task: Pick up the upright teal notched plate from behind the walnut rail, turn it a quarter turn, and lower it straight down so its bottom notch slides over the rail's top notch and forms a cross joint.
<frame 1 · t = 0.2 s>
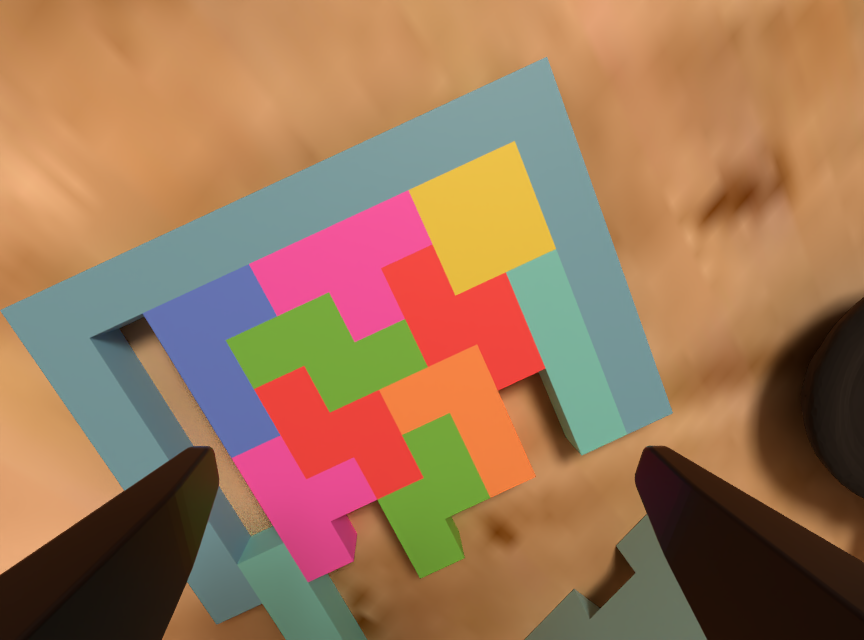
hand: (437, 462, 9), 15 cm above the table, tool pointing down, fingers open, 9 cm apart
tetris game: (401, 412, 26), on the table
teal plate: (610, 579, 28), on the table
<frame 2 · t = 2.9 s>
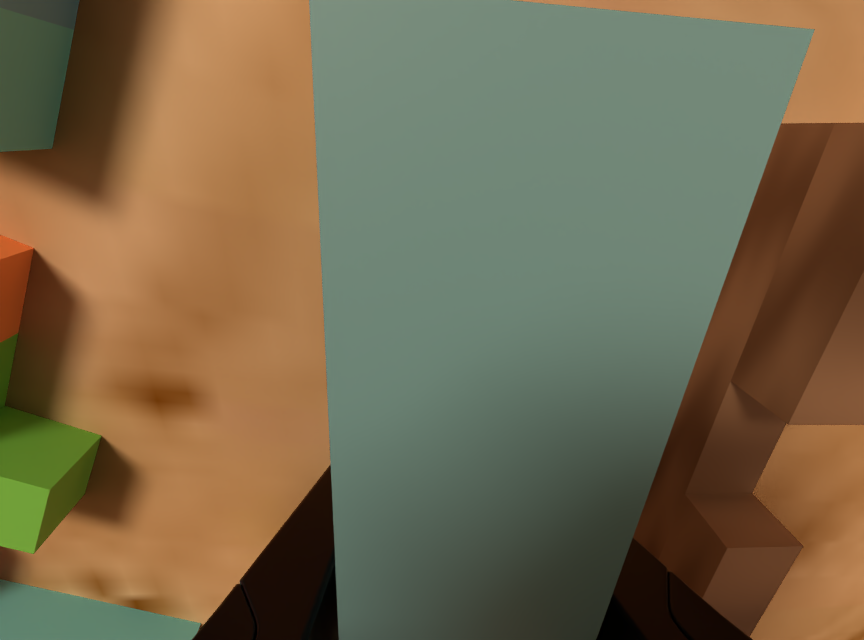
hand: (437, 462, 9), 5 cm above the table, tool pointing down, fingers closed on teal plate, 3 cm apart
teal plate: (423, 348, 13), on the table, touching gripper
walnut rail: (692, 426, 16), on the table
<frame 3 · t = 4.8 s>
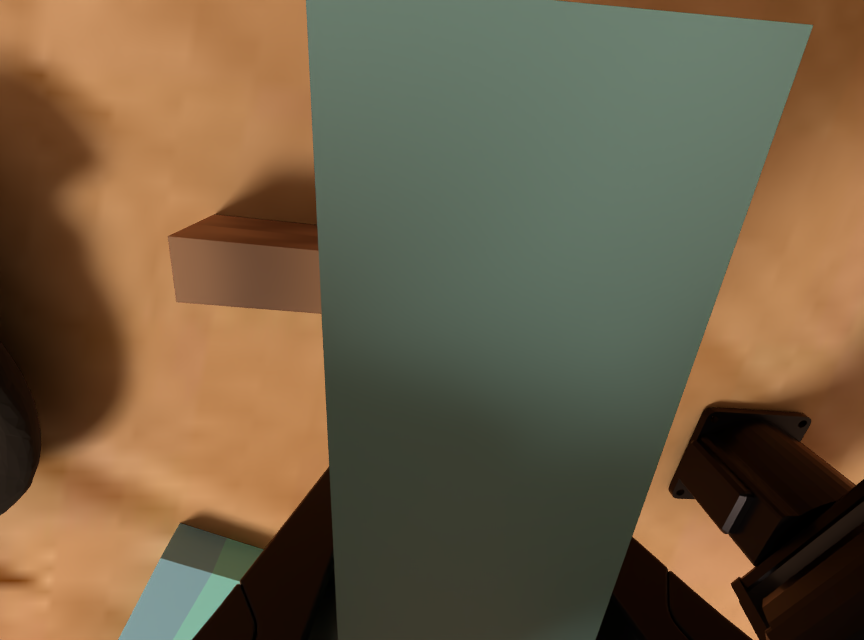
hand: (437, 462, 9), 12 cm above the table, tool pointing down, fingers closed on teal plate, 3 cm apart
tetris game: (352, 625, 31), on the table
teal plate: (423, 347, 13), point 7 cm above the table, touching gripper
walnut rail: (444, 264, 20), on the table
when the fingers open (6 cm above the table, at t = 6.9 s): teal plate stays where it is, on the table.
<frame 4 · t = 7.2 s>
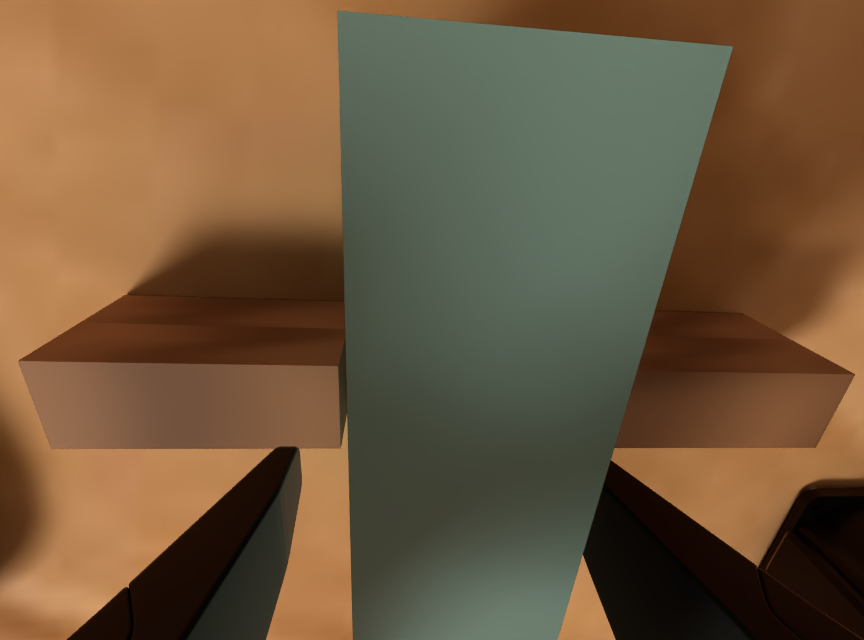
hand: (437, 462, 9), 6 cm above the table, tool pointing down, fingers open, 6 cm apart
teal plate: (423, 336, 14), on the table
walnut rail: (451, 338, 14), on the table
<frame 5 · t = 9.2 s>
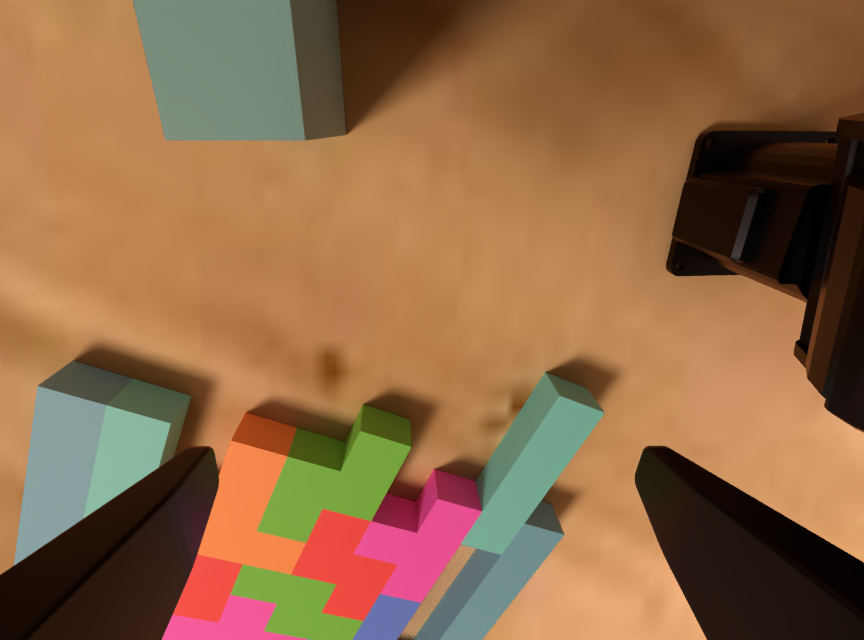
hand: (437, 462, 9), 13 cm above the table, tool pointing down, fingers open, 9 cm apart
tetris game: (315, 500, 27), on the table
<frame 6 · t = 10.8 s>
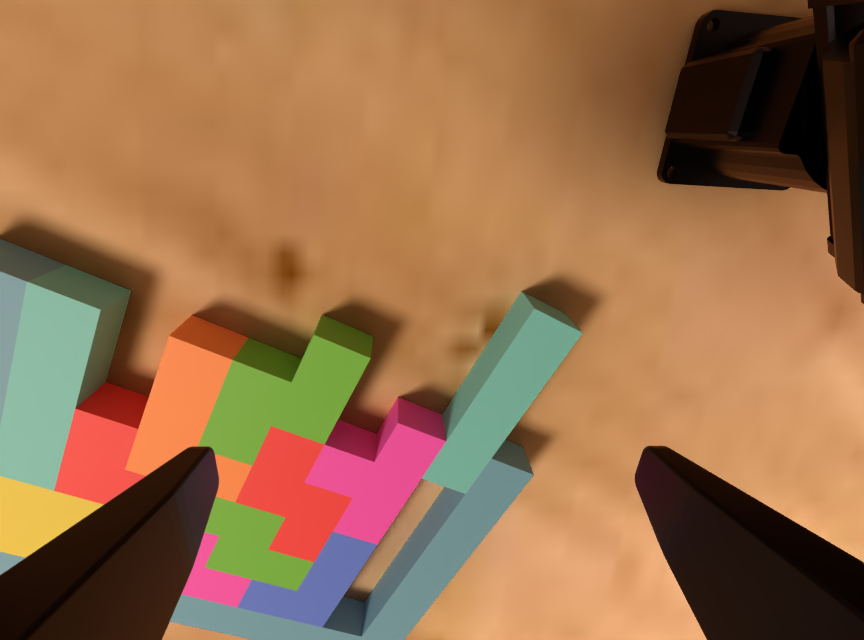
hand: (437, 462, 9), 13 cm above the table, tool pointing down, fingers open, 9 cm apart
tetris game: (268, 428, 25), on the table
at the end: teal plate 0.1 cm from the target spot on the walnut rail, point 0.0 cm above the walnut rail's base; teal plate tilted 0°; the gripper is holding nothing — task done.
